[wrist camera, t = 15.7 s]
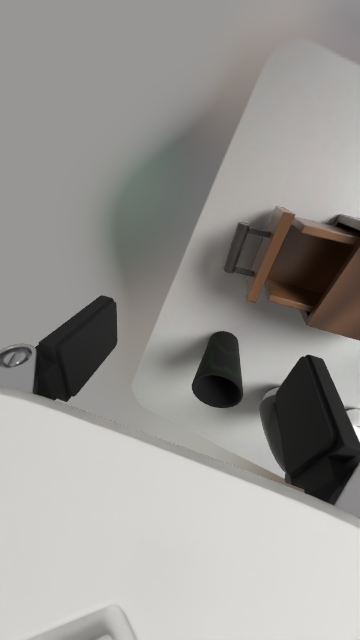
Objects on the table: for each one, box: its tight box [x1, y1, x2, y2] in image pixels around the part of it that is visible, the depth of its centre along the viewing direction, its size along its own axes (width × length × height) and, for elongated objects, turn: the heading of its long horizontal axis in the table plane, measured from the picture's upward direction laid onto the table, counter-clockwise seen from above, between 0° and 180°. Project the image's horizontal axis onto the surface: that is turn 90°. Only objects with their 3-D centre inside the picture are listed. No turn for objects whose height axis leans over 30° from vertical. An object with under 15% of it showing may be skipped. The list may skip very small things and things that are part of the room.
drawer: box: [224, 206, 360, 312], centre depth 26 cm, size 16×10×7 cm, turn 80°
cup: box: [192, 331, 243, 408], centre depth 36 cm, size 8×8×12 cm
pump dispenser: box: [259, 387, 291, 484], centre depth 38 cm, size 10×10×15 cm
